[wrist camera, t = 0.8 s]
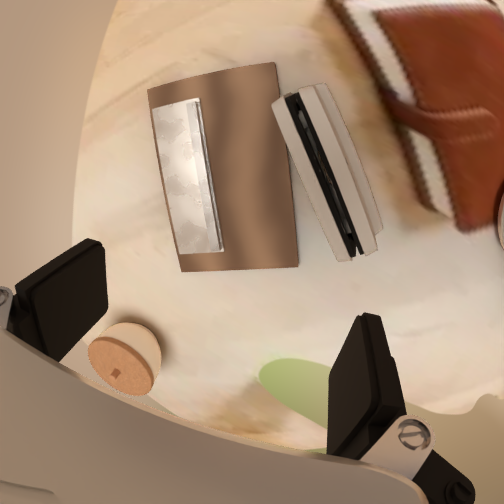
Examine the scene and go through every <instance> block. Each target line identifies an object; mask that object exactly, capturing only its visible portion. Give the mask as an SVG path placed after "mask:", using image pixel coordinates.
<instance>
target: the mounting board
mask: <svg viewBox="0 0 504 504" xmlns="http://www.w3.org/2000/svg"><path fill="white" fill-rule="evenodd" d="M147 93H148V100H149V107H150V114H151V121H152V128H153V134H154V140H155V146H156V152H157V158H158V164H159V169H160V175H161V180H162V185H163V190H164V195H165V200H166V205H167V210H168V215H169V220H170V224H171V229H172V233H173V238H174V242H175V247H176V251H177V255H178V259H179V264H180V268H181V272H199V271H224V270H247V269H269V268H289V267H298V264H299V261H298V249H297V238H296V227H295V216H294V206H293V196H292V187H291V178H290V169H289V161H288V152H287V144H286V142H285V139H284V137H283V134H282V132H281V129H280V127H279V125H278V122H277V119H276V117H275V114H274V112H273V109H272V105H271V104H272V103H274V102H275V101H276V100H278V99H279V98H280V92H279V86H278V79H277V72H276V66H275V63H274V62H270V63H262V64H256V65H249V66H243V67H238V68H232V69H227V70H222V71H217V72H212V73H208V74H203V75H199V76H195V77H191V78H187V79H183V80H179V81H175V82H172V83H168V84H164V85H161V86H158V87H154V88H151V89H148V90H147ZM194 98H200V100H201V107H202V114H203V120H204V127H205V134H206V140H207V147H208V153H209V159H210V166H211V172H212V178H213V184H214V190H215V196H216V202H217V208H218V214H219V220H220V225H221V231H222V237H223V243H224V248H225V251H224V252H210V253H194V254H179V250H178V246H177V241H176V237H175V232H174V228H173V223H172V218H171V214H170V209H169V204H168V199H167V194H166V189H165V184H164V178H163V173H162V167H161V162H160V156H159V150H158V144H157V138H156V132H155V125H154V119H153V112H152V109H154V108H158V107H162V106H165V105H169V104H173V103H177V102H181V101H185V100H190V99H194Z"/></svg>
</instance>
